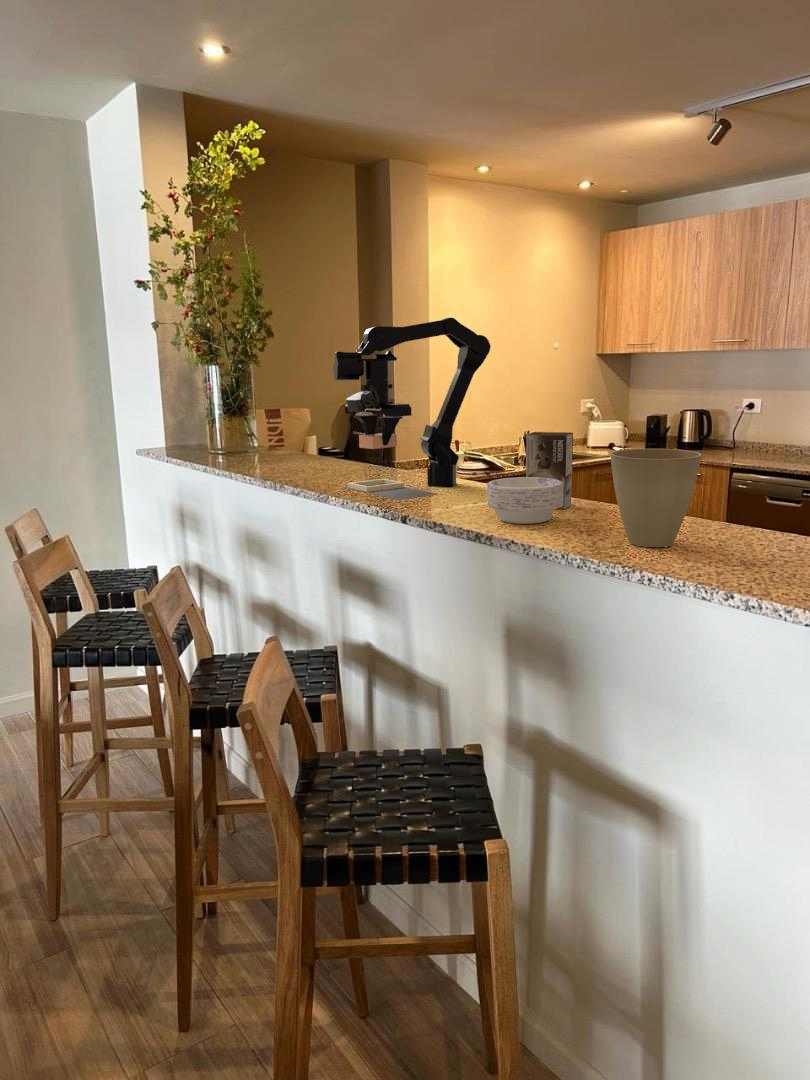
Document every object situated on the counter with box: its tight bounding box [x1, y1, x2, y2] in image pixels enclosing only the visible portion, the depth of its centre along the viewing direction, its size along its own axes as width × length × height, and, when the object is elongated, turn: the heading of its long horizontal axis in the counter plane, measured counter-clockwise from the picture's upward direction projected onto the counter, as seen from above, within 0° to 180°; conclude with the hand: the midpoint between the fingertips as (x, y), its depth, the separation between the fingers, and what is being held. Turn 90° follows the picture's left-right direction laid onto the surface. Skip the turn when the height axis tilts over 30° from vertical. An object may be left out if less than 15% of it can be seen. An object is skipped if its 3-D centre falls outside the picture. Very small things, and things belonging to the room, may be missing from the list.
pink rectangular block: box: [358, 432, 398, 450], centre depth 192 cm, size 8×5×3 cm, turn 134°
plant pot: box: [609, 448, 702, 548], centre depth 135 cm, size 15×15×16 cm
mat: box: [343, 478, 439, 501], centre depth 191 cm, size 24×12×2 cm, turn 36°
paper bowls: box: [486, 476, 563, 525], centre depth 157 cm, size 15×15×8 cm
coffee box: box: [525, 431, 574, 510], centre depth 171 cm, size 9×6×16 cm
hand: (378, 444), depth 192 cm, fingers closed on pink rectangular block, 5 cm apart
